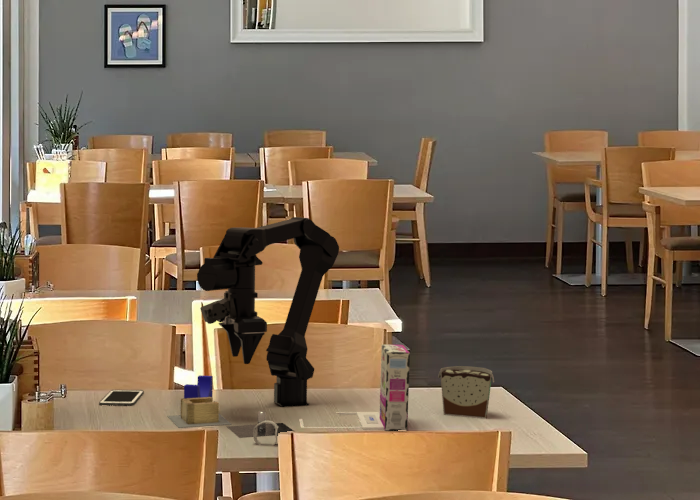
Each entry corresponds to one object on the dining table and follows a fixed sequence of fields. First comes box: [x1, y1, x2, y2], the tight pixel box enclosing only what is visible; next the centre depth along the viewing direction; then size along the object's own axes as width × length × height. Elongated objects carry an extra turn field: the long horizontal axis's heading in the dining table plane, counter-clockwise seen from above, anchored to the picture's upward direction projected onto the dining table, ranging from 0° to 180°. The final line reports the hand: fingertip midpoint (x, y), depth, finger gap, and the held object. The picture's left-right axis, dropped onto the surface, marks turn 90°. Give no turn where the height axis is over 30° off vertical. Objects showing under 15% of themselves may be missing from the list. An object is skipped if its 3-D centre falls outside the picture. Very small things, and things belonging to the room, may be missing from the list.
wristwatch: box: [252, 420, 280, 446], centre depth 242 cm, size 3×5×5 cm, turn 81°
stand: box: [225, 410, 294, 439], centre depth 253 cm, size 12×10×4 cm
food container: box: [437, 365, 495, 419], centre depth 273 cm, size 12×6×10 cm, turn 71°
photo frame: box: [299, 411, 385, 431], centre depth 264 cm, size 15×1×18 cm
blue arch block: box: [183, 374, 214, 398], centre depth 276 cm, size 12×4×6 cm, turn 171°
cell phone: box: [98, 389, 145, 407], centre depth 283 cm, size 8×15×1 cm, turn 0°
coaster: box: [167, 413, 233, 429], centre depth 261 cm, size 11×11×1 cm
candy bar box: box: [379, 343, 411, 432], centre depth 260 cm, size 11×5×16 cm, turn 5°
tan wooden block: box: [180, 396, 220, 424], centre depth 261 cm, size 6×6×4 cm
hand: (240, 360), depth 267 cm, fingers open, 9 cm apart
